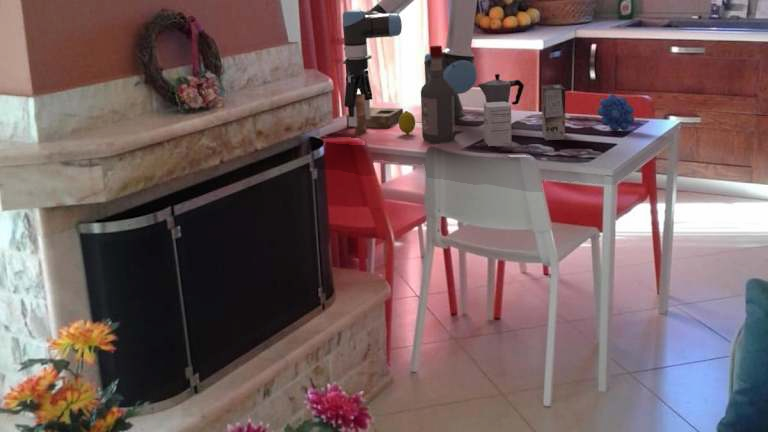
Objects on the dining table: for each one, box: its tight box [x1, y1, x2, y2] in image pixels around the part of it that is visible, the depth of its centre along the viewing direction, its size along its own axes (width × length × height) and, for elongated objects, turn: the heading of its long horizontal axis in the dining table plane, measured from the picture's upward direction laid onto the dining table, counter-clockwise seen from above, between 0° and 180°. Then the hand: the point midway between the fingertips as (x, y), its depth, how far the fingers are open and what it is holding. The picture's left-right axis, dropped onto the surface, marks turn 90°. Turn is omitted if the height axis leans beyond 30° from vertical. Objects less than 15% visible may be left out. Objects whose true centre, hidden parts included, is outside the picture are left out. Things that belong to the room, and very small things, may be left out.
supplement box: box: [483, 102, 512, 147], centre depth 277 cm, size 7×7×13 cm
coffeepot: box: [477, 73, 525, 127], centre depth 299 cm, size 15×9×18 cm, turn 92°
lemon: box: [398, 110, 416, 135], centre depth 296 cm, size 6×6×8 cm
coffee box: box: [541, 83, 566, 141], centre depth 281 cm, size 9×6×16 cm
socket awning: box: [342, 54, 404, 129], centre depth 315 cm, size 16×14×23 cm
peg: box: [353, 93, 367, 135], centre depth 302 cm, size 4×4×13 cm
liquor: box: [420, 45, 456, 144], centre depth 283 cm, size 9×9×30 cm
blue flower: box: [596, 93, 635, 132], centre depth 284 cm, size 12×7×12 cm, turn 72°
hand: (359, 122), depth 303 cm, fingers open, 11 cm apart
